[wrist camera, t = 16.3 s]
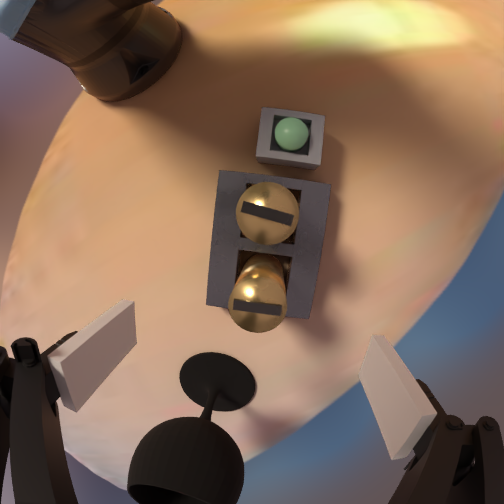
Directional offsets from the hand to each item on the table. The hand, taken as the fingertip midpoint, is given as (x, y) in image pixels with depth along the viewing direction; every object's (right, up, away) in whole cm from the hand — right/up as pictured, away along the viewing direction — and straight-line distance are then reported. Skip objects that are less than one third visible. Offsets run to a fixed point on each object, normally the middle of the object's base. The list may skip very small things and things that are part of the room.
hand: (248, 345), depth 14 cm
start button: (+4, +16, +11) cm, 20 cm away
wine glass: (-5, -13, +20) cm, 24 cm away
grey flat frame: (+2, +6, +16) cm, 17 cm away
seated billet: (+2, +9, +15) cm, 18 cm away
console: (+4, +16, +14) cm, 22 cm away
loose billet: (+1, +3, +16) cm, 17 cm away
